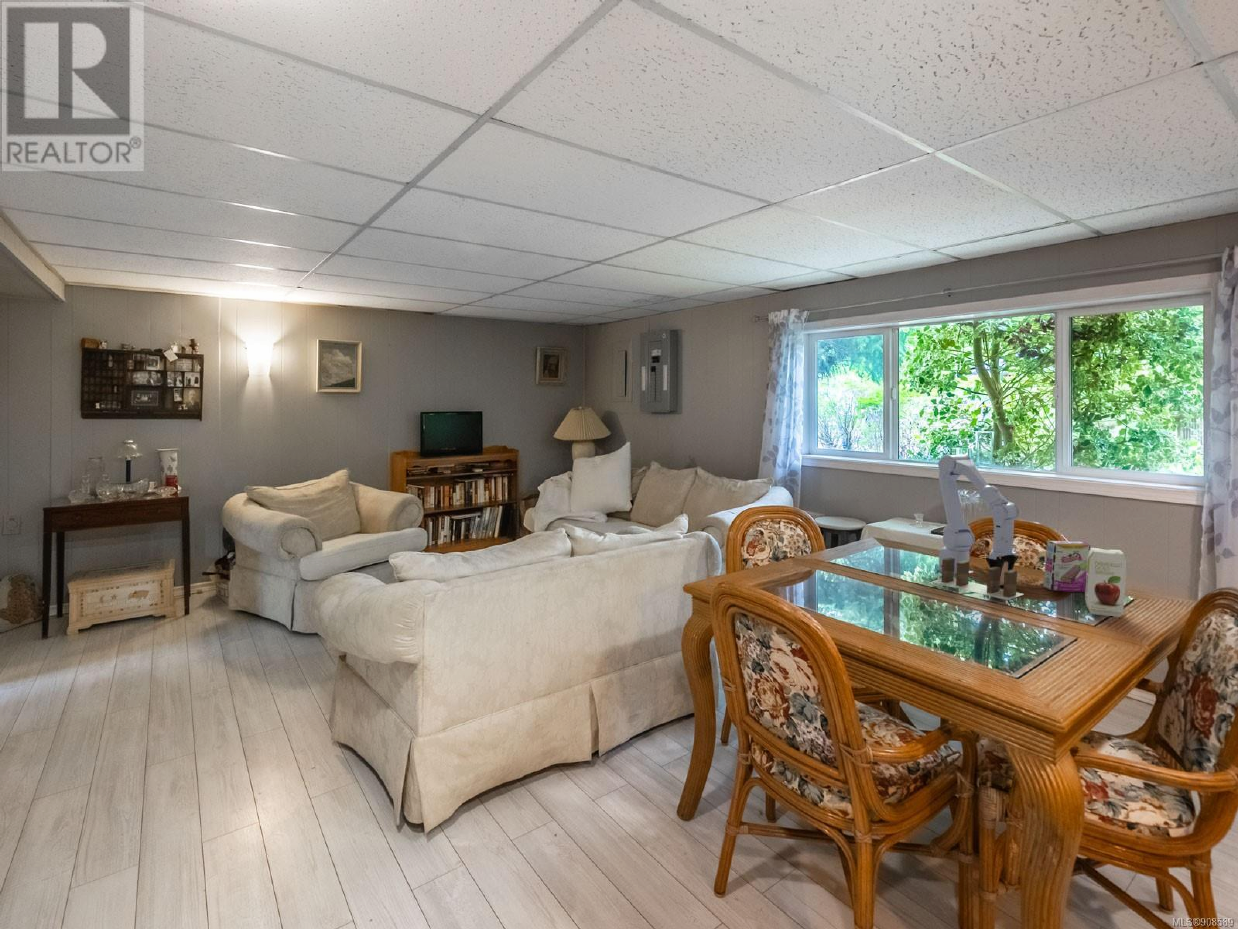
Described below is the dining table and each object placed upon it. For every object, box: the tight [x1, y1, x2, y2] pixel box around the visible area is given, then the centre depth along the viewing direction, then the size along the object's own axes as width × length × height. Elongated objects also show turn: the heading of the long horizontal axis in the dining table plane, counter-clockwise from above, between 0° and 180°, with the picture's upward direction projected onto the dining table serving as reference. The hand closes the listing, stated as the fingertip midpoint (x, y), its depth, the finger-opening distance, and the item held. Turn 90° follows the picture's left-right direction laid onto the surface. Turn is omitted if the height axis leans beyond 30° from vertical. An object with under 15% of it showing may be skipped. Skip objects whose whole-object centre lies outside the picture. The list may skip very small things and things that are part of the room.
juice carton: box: [1084, 547, 1127, 618], centre depth 178 cm, size 8×9×19 cm
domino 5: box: [1002, 569, 1018, 598], centre depth 194 cm, size 2×5×8 cm, turn 123°
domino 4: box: [1000, 562, 1008, 586], centre depth 207 cm, size 2×5×8 cm, turn 123°
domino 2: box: [955, 560, 970, 586], centre depth 207 cm, size 2×5×8 cm, turn 123°
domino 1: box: [941, 558, 955, 583], centre depth 211 cm, size 2×5×8 cm, turn 123°
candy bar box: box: [1043, 540, 1091, 593], centre depth 201 cm, size 11×5×16 cm, turn 84°
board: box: [931, 577, 1025, 601], centre depth 203 cm, size 25×11×1 cm, turn 33°
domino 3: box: [986, 566, 1001, 594], centre depth 198 cm, size 2×5×8 cm, turn 123°
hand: (1001, 576), depth 208 cm, fingers open, 7 cm apart
